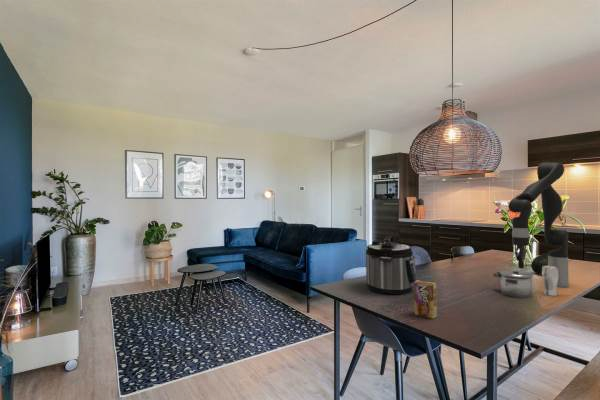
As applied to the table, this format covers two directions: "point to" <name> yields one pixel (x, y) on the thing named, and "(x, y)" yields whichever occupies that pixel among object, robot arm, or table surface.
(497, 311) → the table surface
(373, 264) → the pressure cooker
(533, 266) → the squash
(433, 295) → the candy box
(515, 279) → the pot
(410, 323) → the table surface
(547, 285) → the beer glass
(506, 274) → the lid
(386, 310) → the table surface
